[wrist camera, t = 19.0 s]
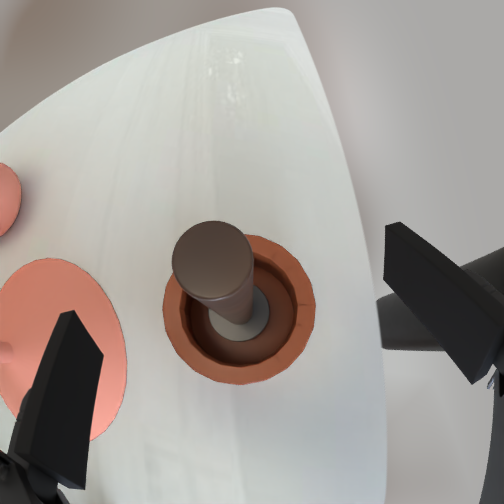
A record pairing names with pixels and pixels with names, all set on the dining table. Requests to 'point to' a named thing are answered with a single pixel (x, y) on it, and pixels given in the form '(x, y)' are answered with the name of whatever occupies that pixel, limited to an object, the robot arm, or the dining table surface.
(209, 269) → the pestle
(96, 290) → the ceramic vessels
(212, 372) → the jar
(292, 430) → the dining table surface
